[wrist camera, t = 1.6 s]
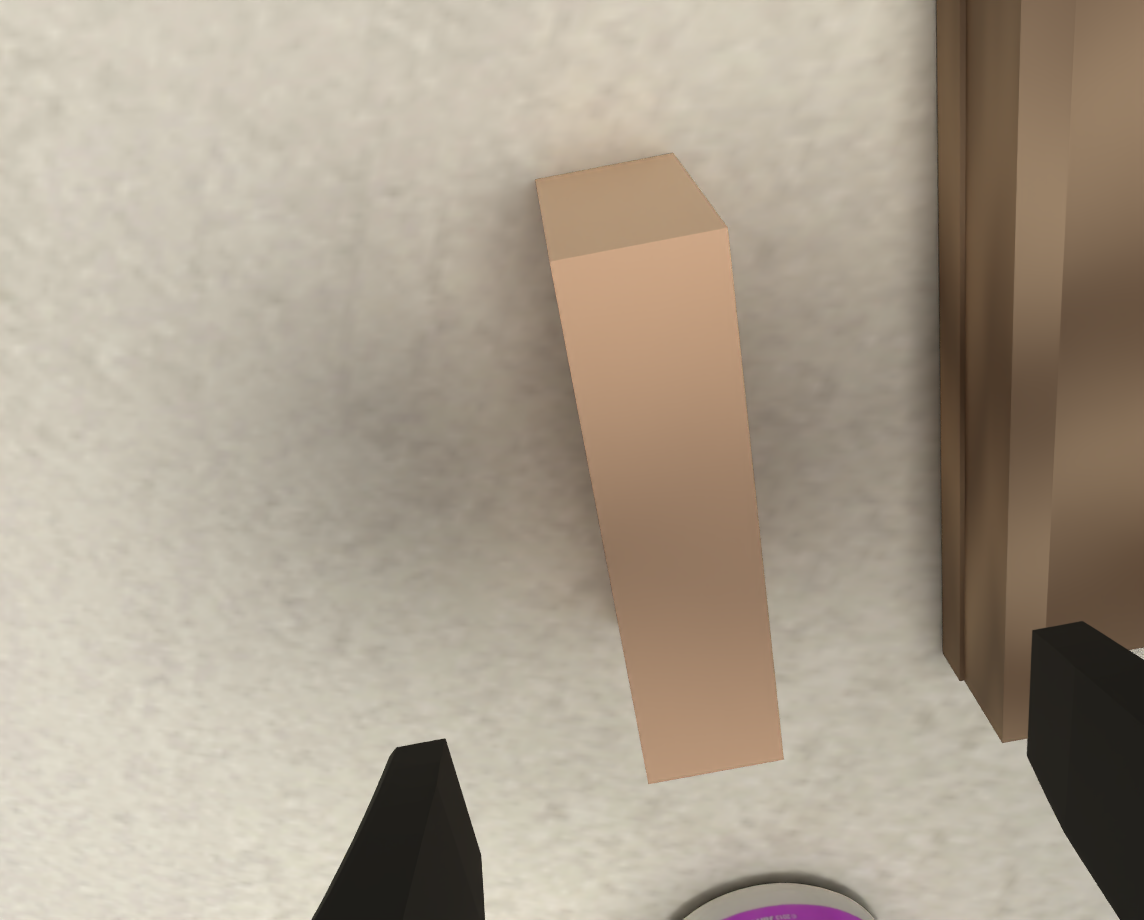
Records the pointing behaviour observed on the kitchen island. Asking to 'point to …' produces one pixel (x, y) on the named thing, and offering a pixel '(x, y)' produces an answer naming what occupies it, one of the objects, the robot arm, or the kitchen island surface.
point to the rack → (1039, 332)
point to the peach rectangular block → (668, 456)
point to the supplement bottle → (781, 904)
